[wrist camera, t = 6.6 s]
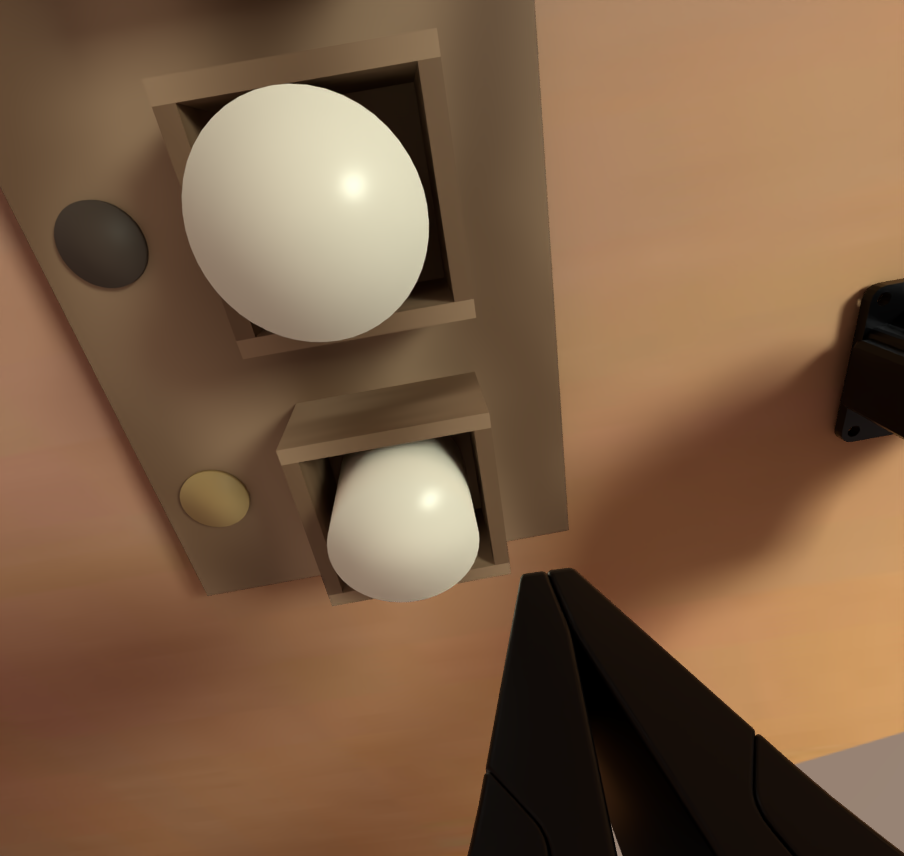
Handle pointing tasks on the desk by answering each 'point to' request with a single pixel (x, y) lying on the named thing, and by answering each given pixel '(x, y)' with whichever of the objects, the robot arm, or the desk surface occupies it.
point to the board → (246, 344)
